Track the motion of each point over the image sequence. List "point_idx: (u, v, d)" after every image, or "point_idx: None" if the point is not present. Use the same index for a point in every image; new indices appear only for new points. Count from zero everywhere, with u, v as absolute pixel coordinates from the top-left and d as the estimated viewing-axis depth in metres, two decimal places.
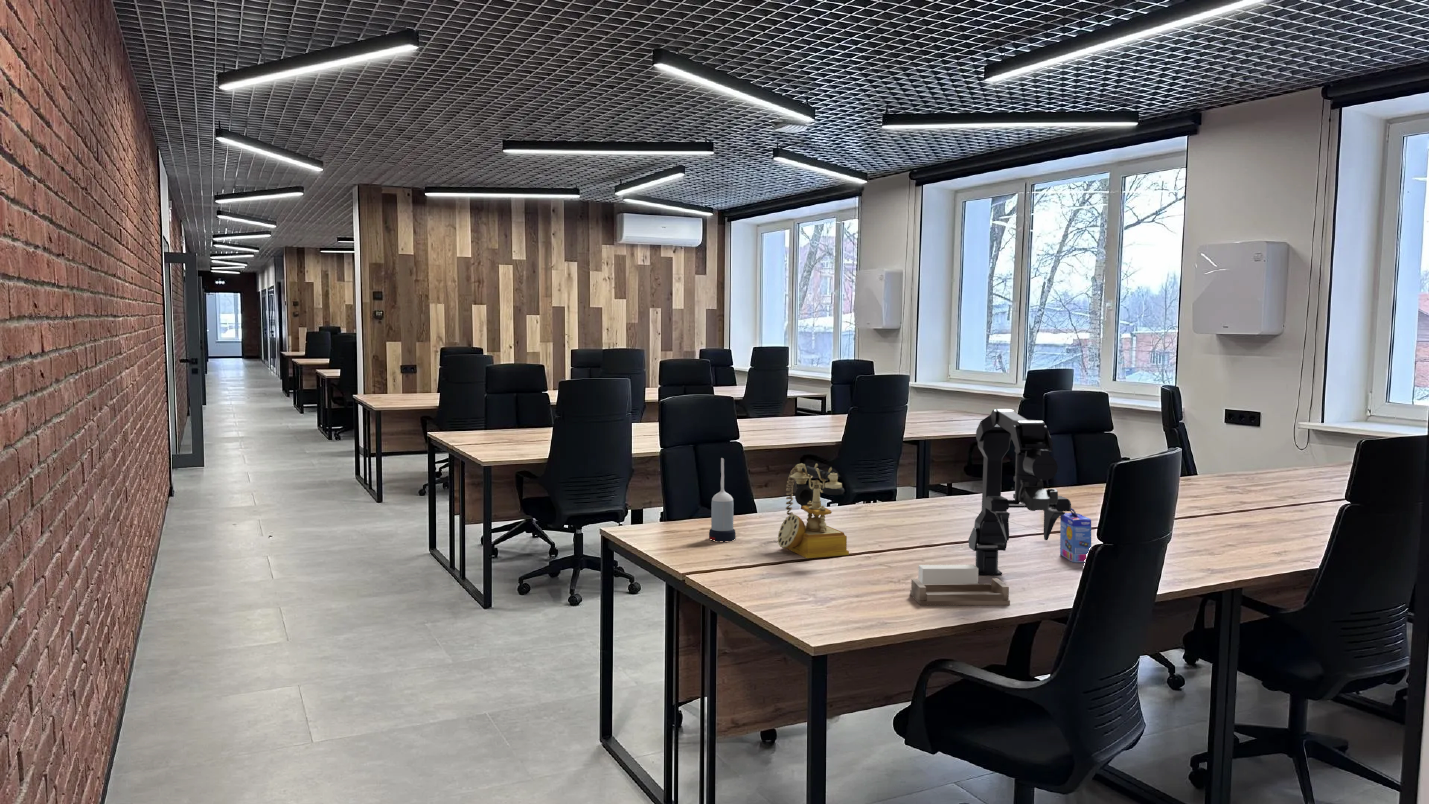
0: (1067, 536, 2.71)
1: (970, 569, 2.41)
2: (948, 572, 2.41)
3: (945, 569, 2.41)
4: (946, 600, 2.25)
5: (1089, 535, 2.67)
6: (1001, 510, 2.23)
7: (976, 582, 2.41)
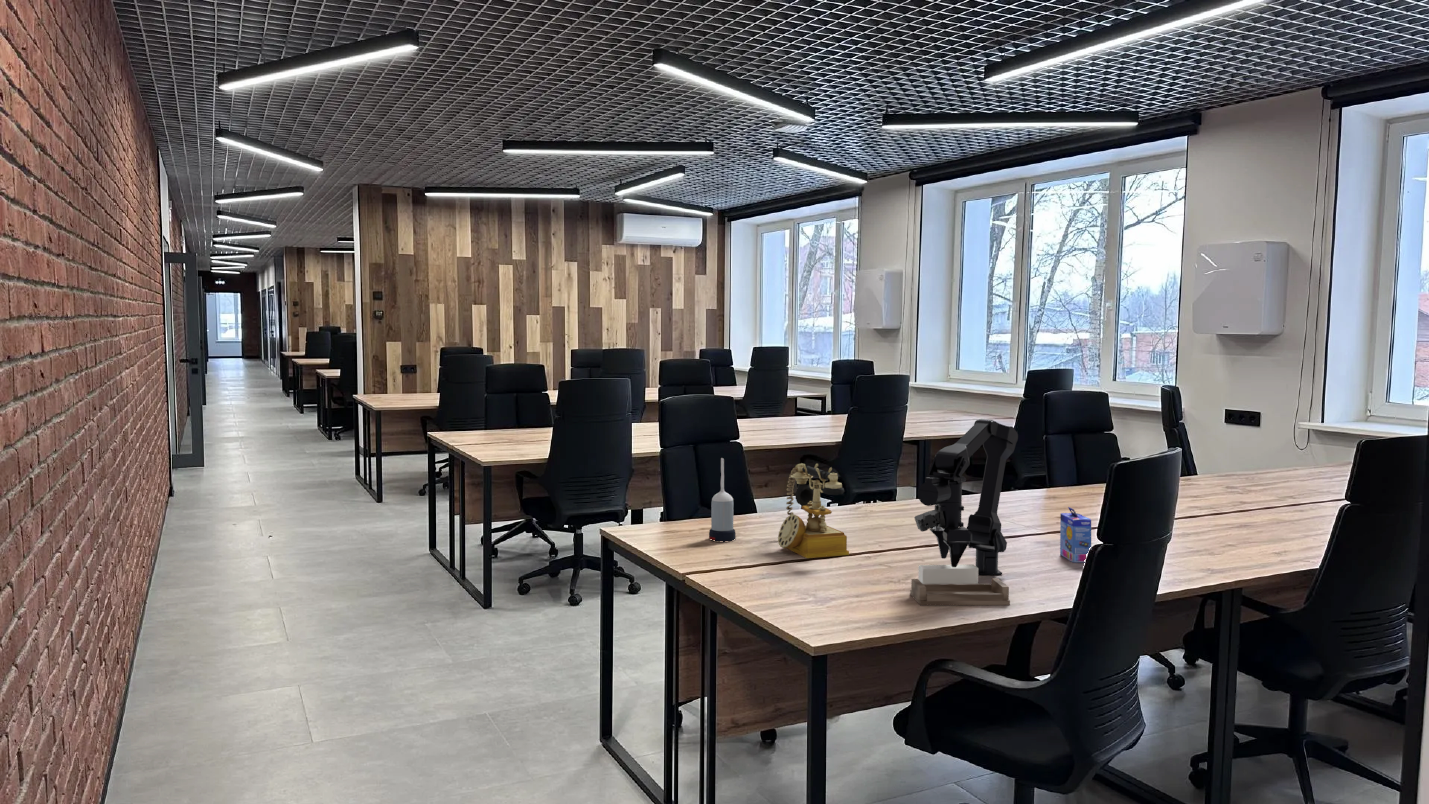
0: (1067, 536, 2.71)
1: (970, 569, 2.41)
2: (948, 572, 2.41)
3: (945, 569, 2.41)
4: (946, 600, 2.25)
5: (1089, 535, 2.67)
6: (929, 527, 2.49)
7: (976, 582, 2.41)
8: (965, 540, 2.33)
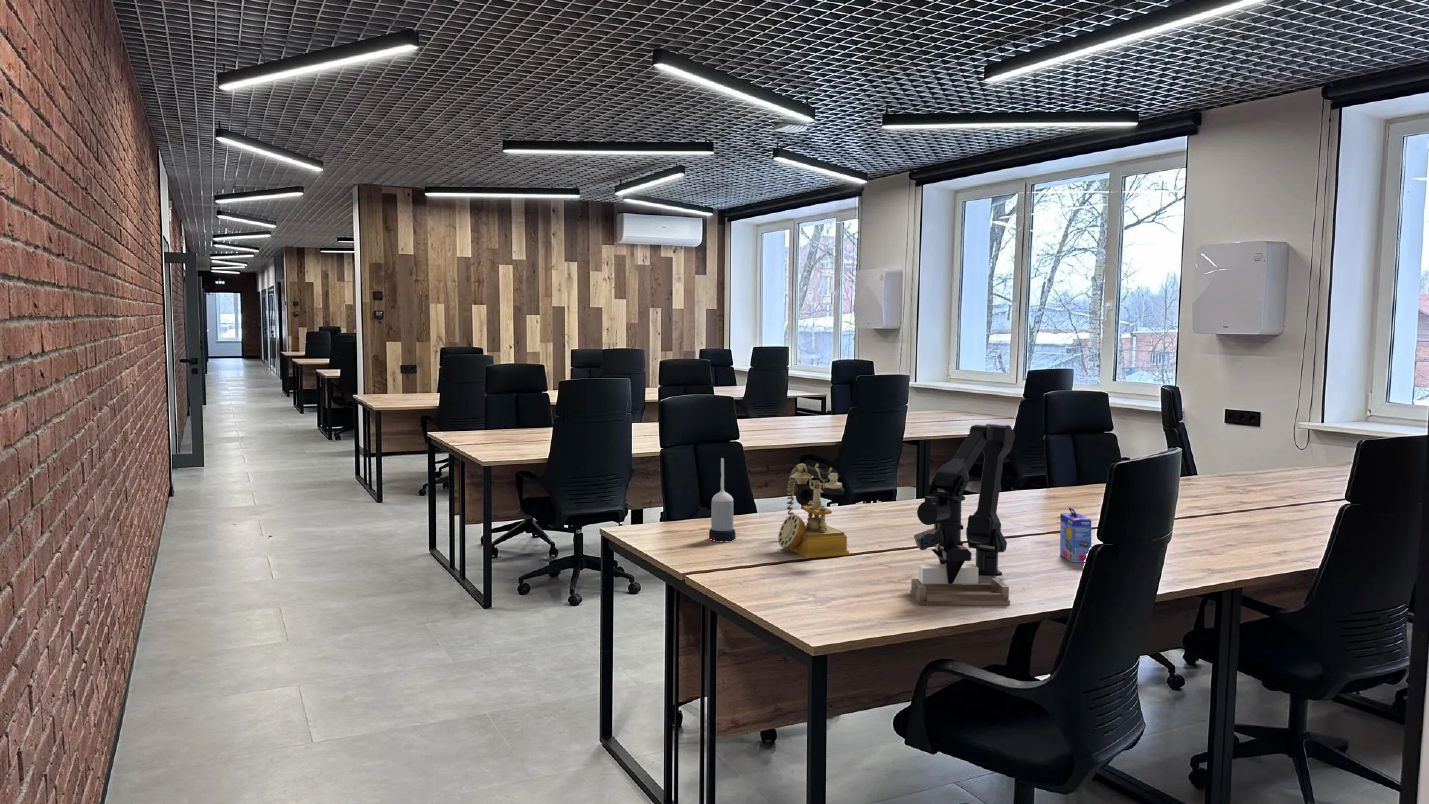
0: (1067, 536, 2.71)
1: (970, 568, 2.41)
2: None
3: (945, 568, 2.41)
4: (946, 600, 2.25)
5: (1089, 535, 2.67)
6: None
7: (976, 581, 2.41)
8: (964, 559, 2.33)
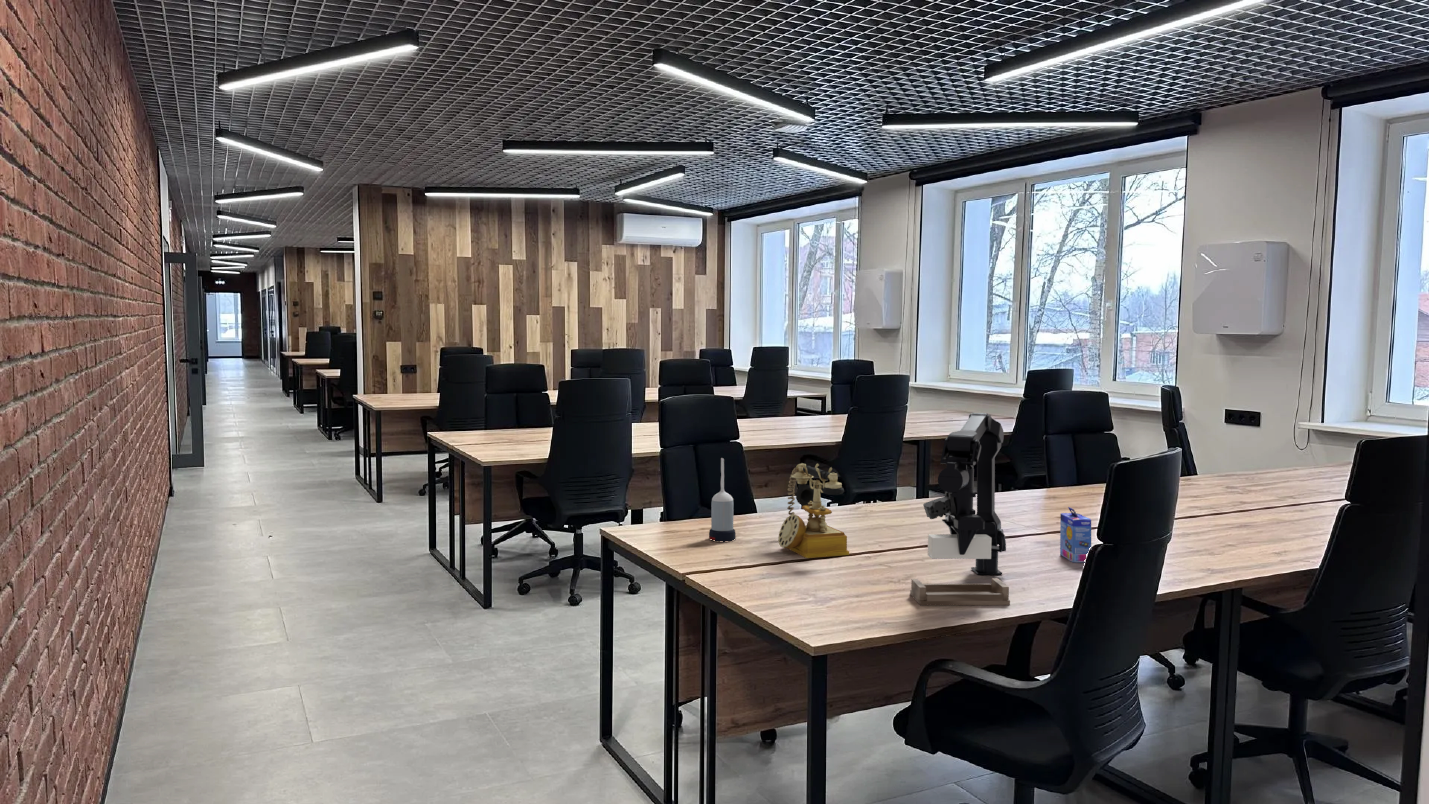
0: (1067, 536, 2.71)
1: (983, 538, 2.27)
2: None
3: (956, 538, 2.27)
4: (946, 600, 2.25)
5: (1089, 535, 2.67)
6: (939, 515, 2.36)
7: (989, 552, 2.27)
8: (977, 528, 2.20)
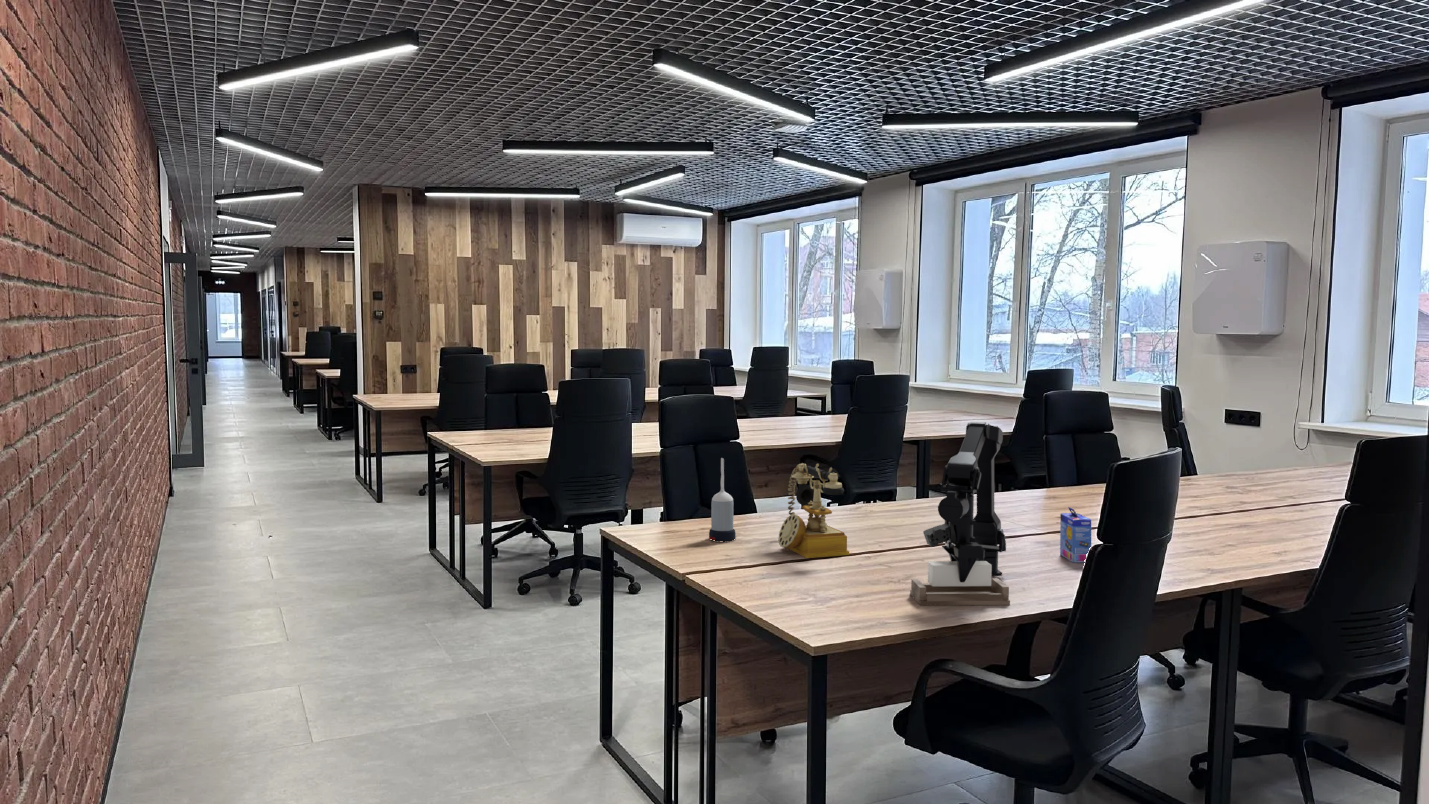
0: (1067, 536, 2.71)
1: (983, 566, 2.28)
2: None
3: (956, 566, 2.27)
4: (946, 600, 2.25)
5: (1089, 535, 2.67)
6: None
7: (989, 579, 2.28)
8: (977, 557, 2.20)
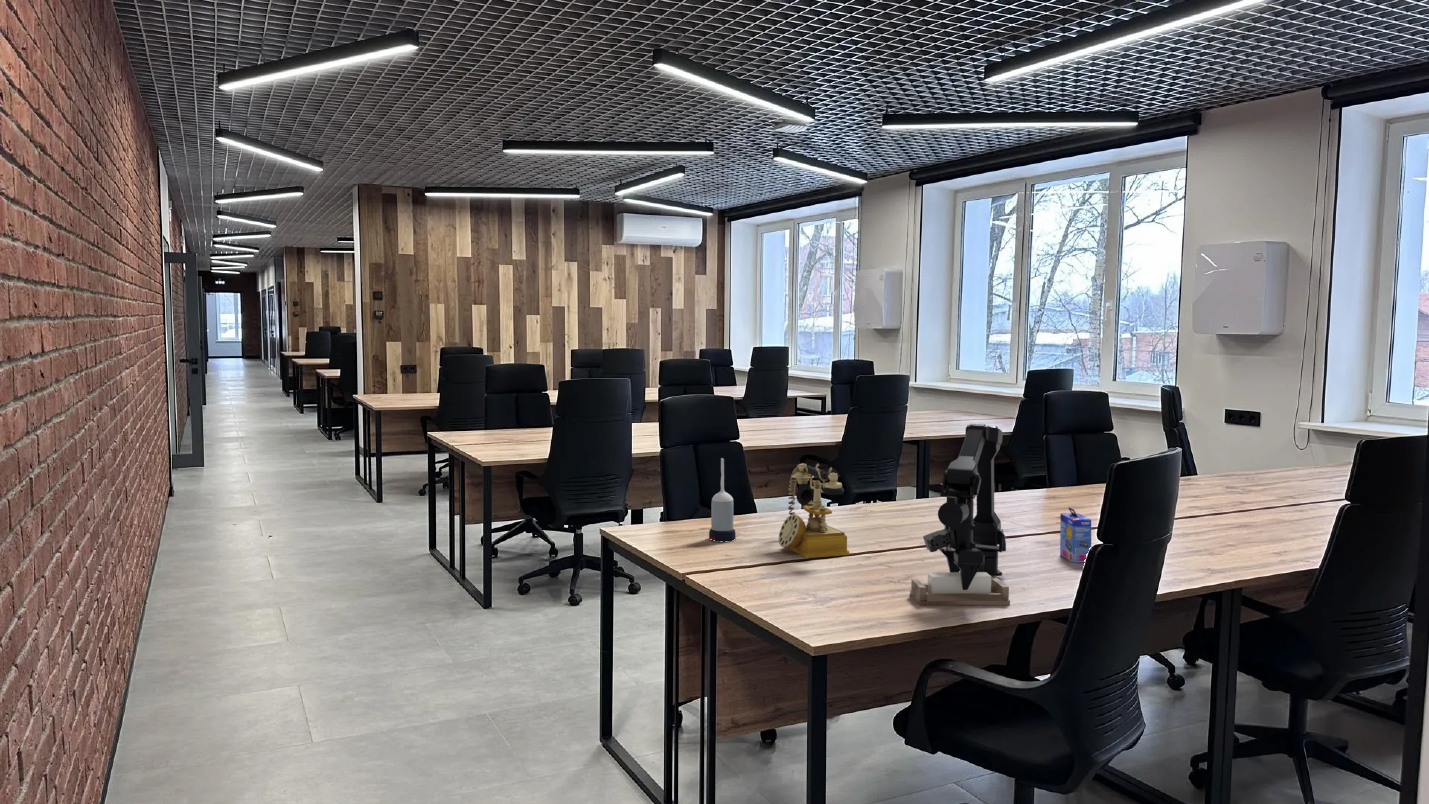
0: (1067, 536, 2.71)
1: (982, 577, 2.28)
2: (959, 580, 2.28)
3: (956, 577, 2.28)
4: (946, 600, 2.25)
5: (1089, 535, 2.67)
6: None
7: (989, 591, 2.28)
8: (977, 562, 2.20)
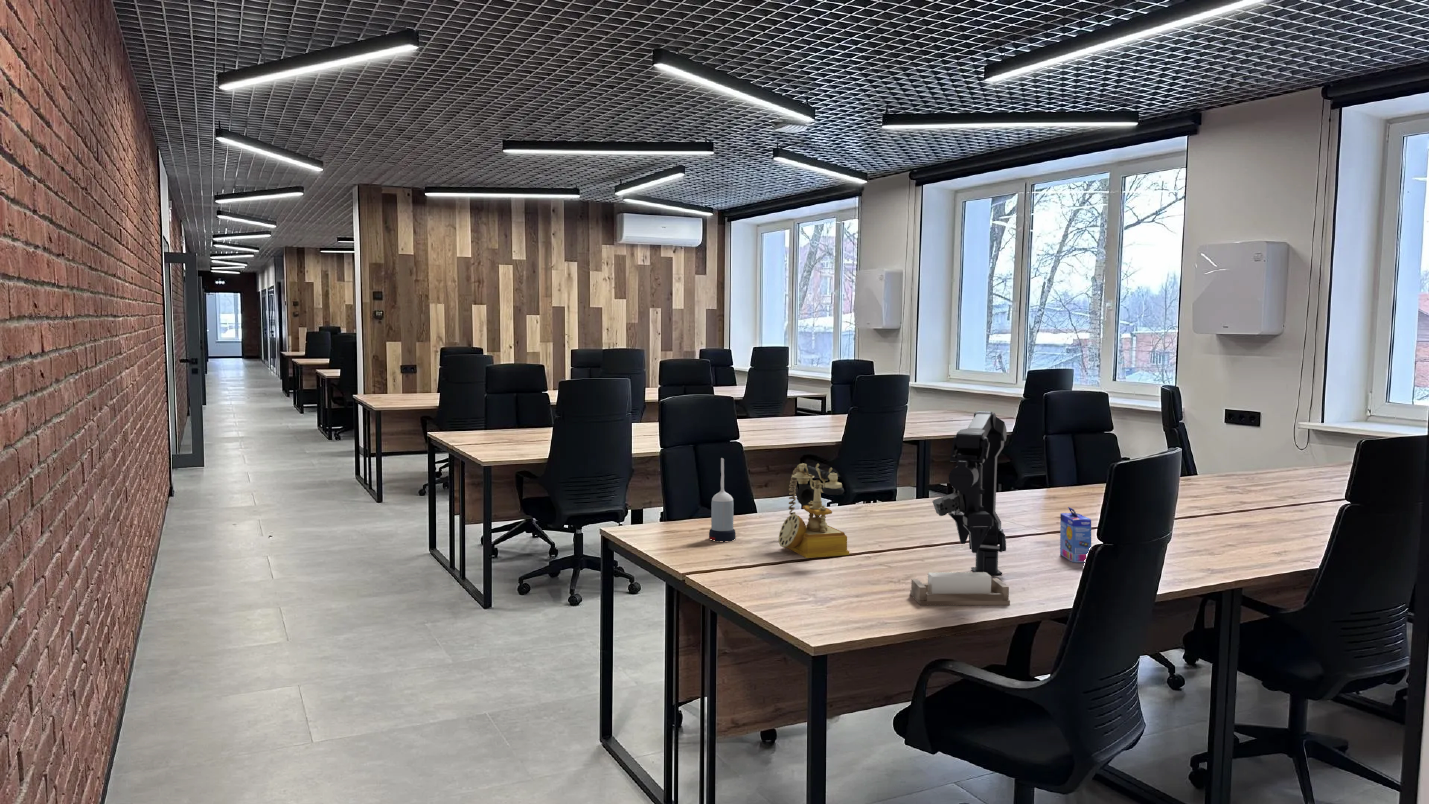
0: (1067, 536, 2.71)
1: (982, 577, 2.28)
2: (959, 580, 2.28)
3: (956, 577, 2.28)
4: (946, 600, 2.25)
5: (1089, 535, 2.67)
6: None
7: (989, 591, 2.28)
8: (986, 525, 2.23)
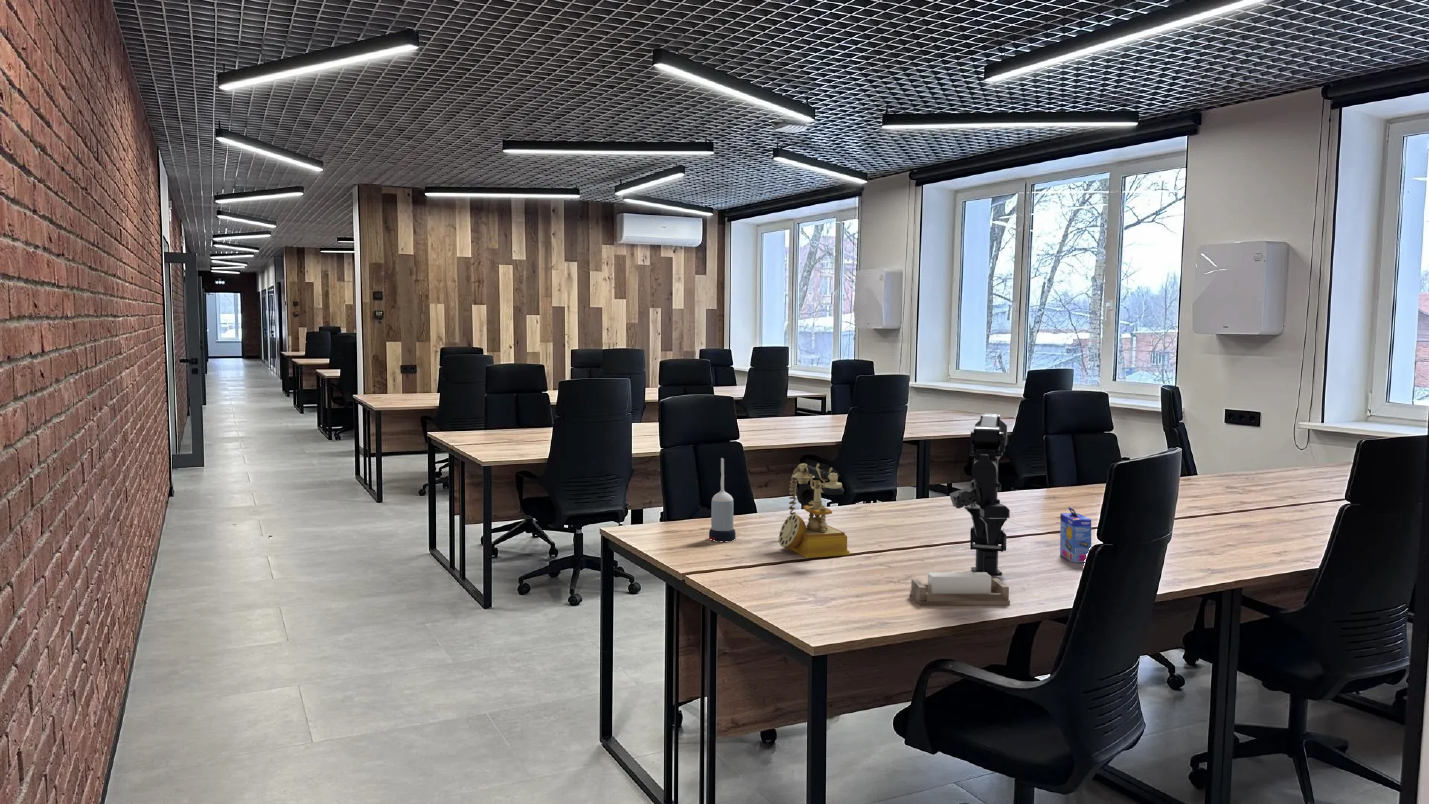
0: (1067, 536, 2.71)
1: (982, 577, 2.28)
2: (959, 580, 2.28)
3: (956, 577, 2.28)
4: (946, 600, 2.25)
5: (1089, 535, 2.67)
6: None
7: (989, 591, 2.28)
8: (1002, 516, 2.30)
